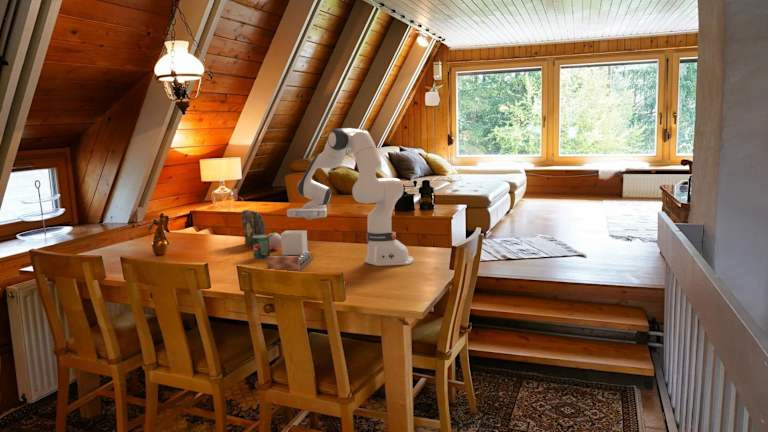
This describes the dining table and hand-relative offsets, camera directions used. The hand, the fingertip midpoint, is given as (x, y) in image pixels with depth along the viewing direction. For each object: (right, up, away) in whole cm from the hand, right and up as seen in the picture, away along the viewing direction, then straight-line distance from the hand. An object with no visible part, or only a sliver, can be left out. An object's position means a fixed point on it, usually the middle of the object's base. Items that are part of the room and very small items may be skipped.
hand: (303, 215), depth 289 cm
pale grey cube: (-2, -18, -14) cm, 23 cm away
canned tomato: (-20, -21, -1) cm, 29 cm away
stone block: (-31, -17, +29) cm, 46 cm away
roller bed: (-3, -24, -20) cm, 31 cm away
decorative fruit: (-18, -18, +18) cm, 31 cm away
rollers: (-3, -22, -19) cm, 29 cm away
